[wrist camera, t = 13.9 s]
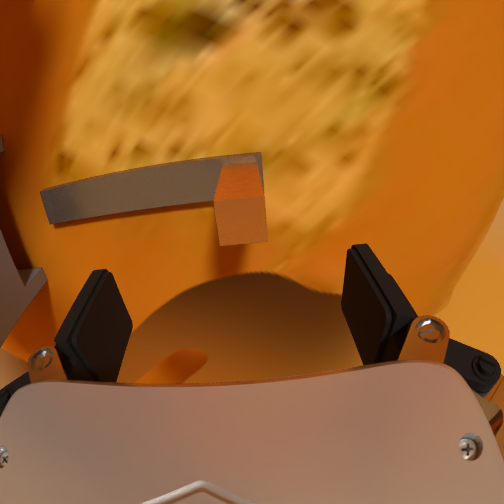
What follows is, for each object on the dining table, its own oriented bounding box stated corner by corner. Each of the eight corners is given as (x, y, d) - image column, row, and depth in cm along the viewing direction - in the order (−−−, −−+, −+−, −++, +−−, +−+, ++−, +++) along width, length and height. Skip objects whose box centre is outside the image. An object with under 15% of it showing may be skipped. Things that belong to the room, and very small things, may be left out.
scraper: (260, 151, 27) (272, 187, 17) (263, 191, 29) (276, 248, 19) (45, 188, 27) (-17, 233, 17) (54, 220, 29) (0, 273, 19)
